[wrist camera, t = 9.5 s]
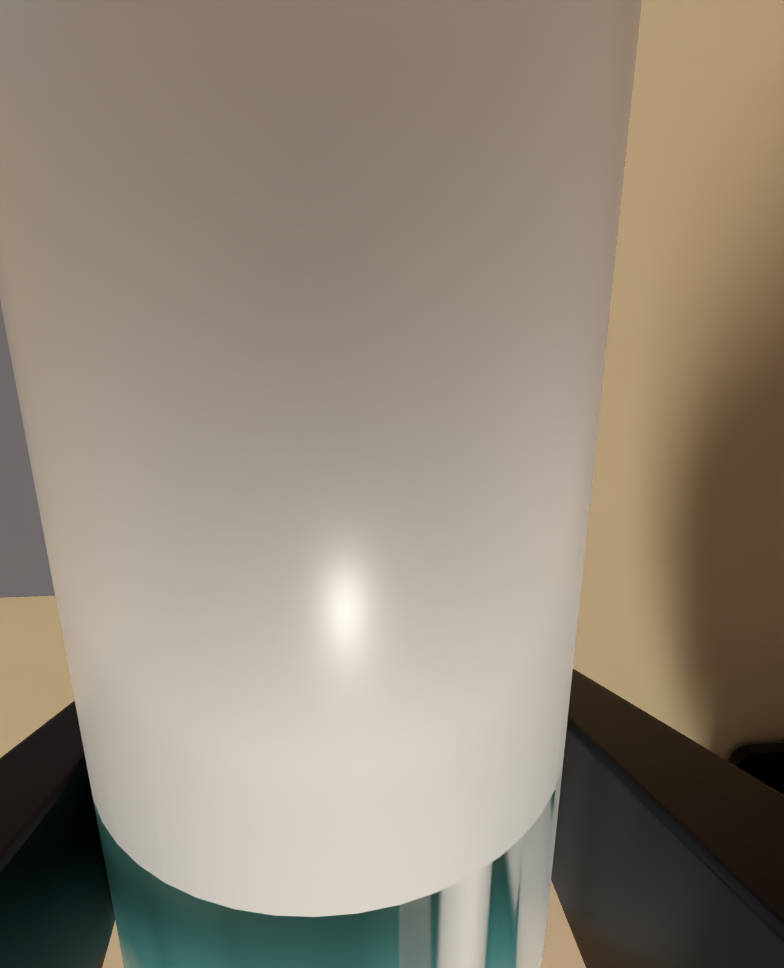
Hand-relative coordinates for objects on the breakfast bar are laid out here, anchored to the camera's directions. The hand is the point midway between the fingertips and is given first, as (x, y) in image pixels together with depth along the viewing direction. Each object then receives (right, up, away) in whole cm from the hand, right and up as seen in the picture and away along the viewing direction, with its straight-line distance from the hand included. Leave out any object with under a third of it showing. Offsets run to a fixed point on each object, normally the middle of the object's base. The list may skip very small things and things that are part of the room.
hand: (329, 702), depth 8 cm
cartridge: (0, +4, -1) cm, 4 cm away
